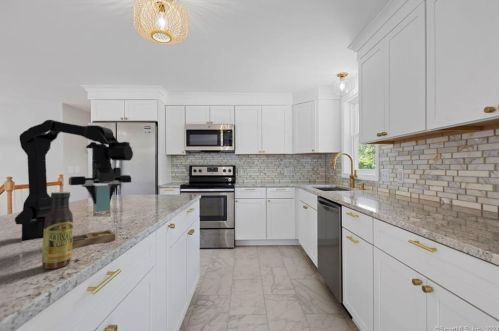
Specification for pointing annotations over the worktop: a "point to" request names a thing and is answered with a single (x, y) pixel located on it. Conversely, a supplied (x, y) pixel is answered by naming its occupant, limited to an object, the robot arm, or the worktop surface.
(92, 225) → the worktop surface
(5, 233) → the worktop surface
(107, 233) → the socket box
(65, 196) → the sauce bottle
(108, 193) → the plug
